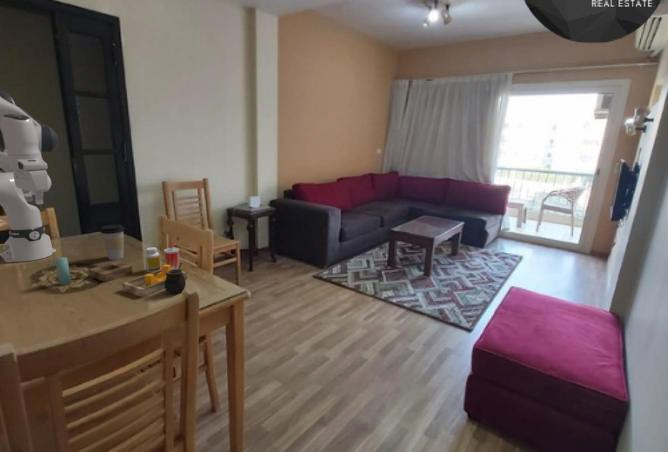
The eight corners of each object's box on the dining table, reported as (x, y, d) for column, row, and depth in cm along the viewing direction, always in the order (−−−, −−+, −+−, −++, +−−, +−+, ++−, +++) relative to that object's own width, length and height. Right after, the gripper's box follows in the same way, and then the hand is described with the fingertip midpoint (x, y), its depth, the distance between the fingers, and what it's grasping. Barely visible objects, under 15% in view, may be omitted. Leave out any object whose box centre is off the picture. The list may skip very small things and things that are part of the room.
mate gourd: (160, 294, 128) (158, 269, 125) (172, 286, 135) (170, 262, 132) (179, 296, 127) (176, 270, 124) (190, 287, 134) (188, 263, 132)
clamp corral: (123, 290, 130) (122, 283, 129) (168, 273, 146) (167, 266, 146) (142, 297, 125) (141, 289, 124) (187, 279, 141) (186, 272, 141)
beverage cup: (177, 272, 148) (174, 240, 145) (162, 271, 148) (159, 240, 145) (183, 266, 154) (180, 236, 151) (169, 266, 154) (166, 236, 151)
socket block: (89, 276, 141) (88, 269, 140) (116, 267, 151) (115, 261, 150) (105, 281, 136) (104, 274, 136) (132, 272, 146) (131, 266, 145)
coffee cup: (117, 261, 157) (113, 230, 154) (99, 260, 159) (94, 228, 155) (132, 255, 166) (128, 224, 163) (114, 253, 168) (110, 223, 164)
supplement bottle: (163, 269, 150) (161, 248, 148) (151, 273, 146) (149, 251, 143) (155, 266, 153) (153, 245, 151) (143, 270, 149) (141, 249, 146)
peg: (57, 283, 133) (53, 259, 131) (68, 280, 136) (63, 256, 134) (62, 285, 132) (58, 261, 129) (73, 282, 135) (69, 258, 132)
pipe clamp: (162, 278, 142) (161, 263, 140) (172, 279, 141) (171, 264, 139) (142, 291, 130) (140, 275, 129) (152, 292, 129) (150, 276, 128)
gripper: (4, 162, 123) (13, 200, 126) (25, 165, 112) (34, 207, 115) (27, 161, 128) (34, 198, 131) (49, 164, 117) (56, 204, 121)
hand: (34, 202), depth 123 cm, fingers open, 8 cm apart
